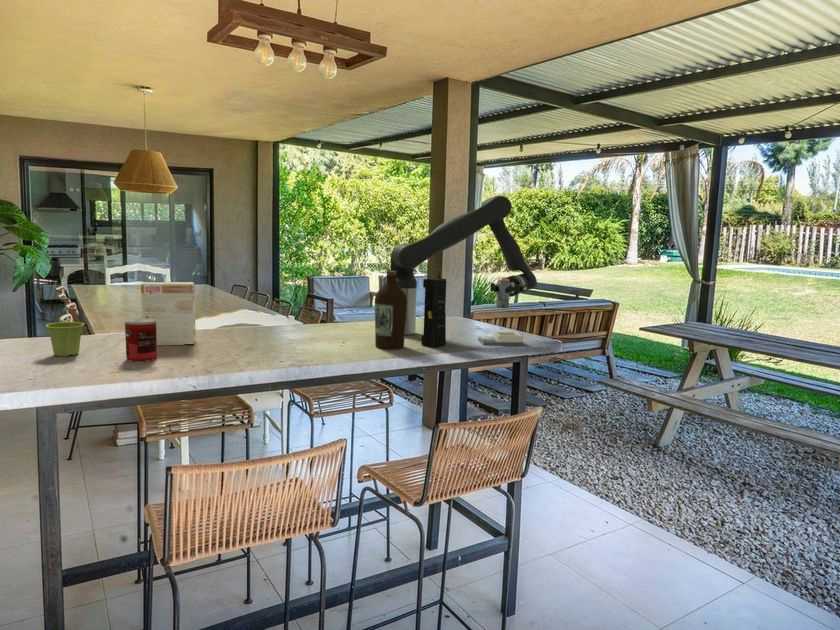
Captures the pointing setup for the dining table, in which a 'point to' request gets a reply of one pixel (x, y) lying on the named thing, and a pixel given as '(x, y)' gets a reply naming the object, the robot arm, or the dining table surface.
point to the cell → (502, 293)
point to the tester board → (503, 339)
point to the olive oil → (390, 314)
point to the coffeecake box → (170, 311)
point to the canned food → (141, 339)
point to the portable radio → (434, 312)
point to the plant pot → (65, 337)
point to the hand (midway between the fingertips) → (501, 289)
